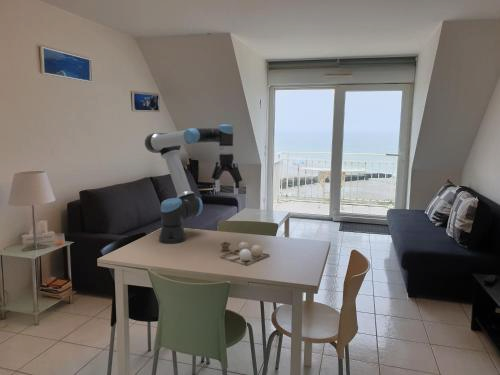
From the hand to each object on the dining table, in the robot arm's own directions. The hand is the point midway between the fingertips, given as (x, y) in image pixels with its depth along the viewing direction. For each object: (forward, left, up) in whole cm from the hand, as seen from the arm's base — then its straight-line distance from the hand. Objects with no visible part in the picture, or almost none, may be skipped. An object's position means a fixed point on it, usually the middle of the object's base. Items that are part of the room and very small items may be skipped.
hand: (226, 192), depth 216 cm
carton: (+23, -12, -29) cm, 39 cm away
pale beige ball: (+19, -8, -28) cm, 35 cm away
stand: (+9, -11, -29) cm, 32 cm away
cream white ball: (+27, -8, -28) cm, 40 cm away
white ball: (+27, -16, -28) cm, 42 cm away
